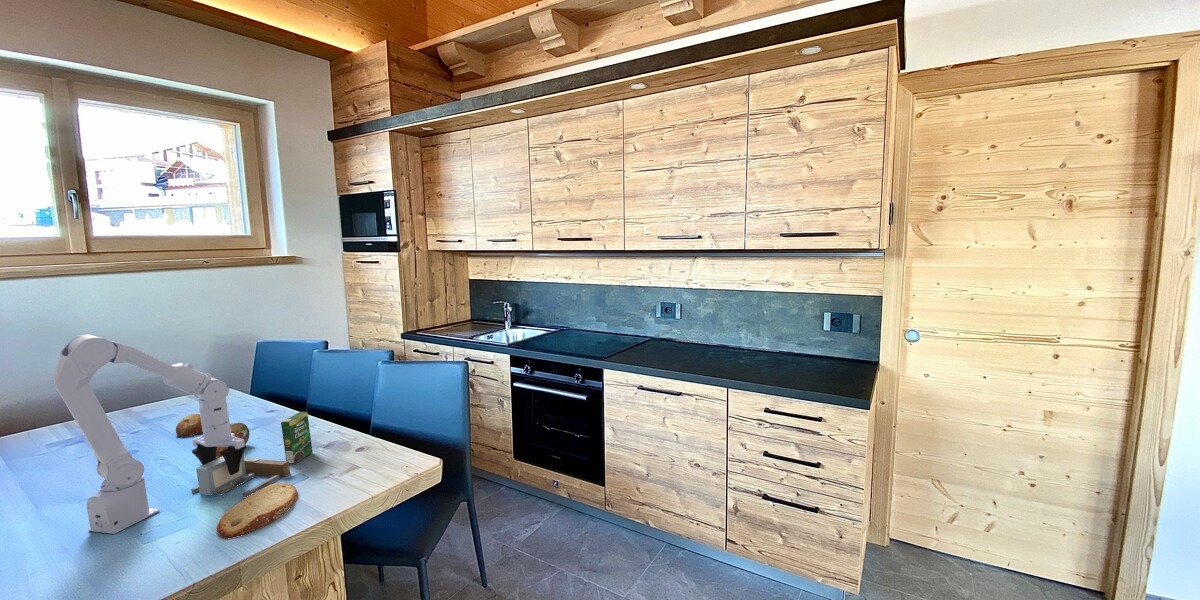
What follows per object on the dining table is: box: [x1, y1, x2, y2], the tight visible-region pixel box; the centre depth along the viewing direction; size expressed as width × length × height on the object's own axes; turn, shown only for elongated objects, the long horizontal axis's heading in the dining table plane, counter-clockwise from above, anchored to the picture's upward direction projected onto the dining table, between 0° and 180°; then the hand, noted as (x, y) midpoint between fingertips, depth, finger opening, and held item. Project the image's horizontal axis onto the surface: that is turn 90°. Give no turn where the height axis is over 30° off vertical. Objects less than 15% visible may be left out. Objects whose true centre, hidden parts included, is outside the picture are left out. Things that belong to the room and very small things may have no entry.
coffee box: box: [280, 411, 313, 465], centre depth 144 cm, size 8×3×13 cm, turn 175°
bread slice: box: [215, 482, 299, 540], centre depth 116 cm, size 18×18×4 cm
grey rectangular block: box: [195, 453, 247, 496], centre depth 130 cm, size 10×4×7 cm, turn 168°
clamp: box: [191, 457, 291, 498], centre depth 130 cm, size 13×18×4 cm
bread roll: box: [175, 413, 203, 437], centre depth 170 cm, size 10×10×8 cm
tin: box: [216, 422, 250, 459], centre depth 150 cm, size 15×3×8 cm, turn 168°
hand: (222, 472), depth 130 cm, fingers open, 7 cm apart
